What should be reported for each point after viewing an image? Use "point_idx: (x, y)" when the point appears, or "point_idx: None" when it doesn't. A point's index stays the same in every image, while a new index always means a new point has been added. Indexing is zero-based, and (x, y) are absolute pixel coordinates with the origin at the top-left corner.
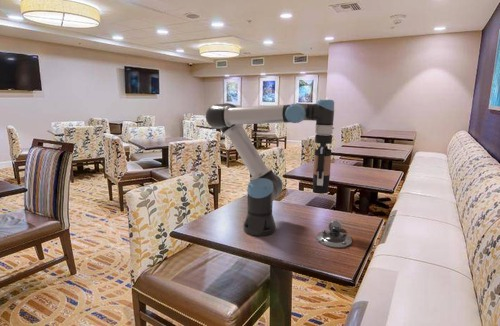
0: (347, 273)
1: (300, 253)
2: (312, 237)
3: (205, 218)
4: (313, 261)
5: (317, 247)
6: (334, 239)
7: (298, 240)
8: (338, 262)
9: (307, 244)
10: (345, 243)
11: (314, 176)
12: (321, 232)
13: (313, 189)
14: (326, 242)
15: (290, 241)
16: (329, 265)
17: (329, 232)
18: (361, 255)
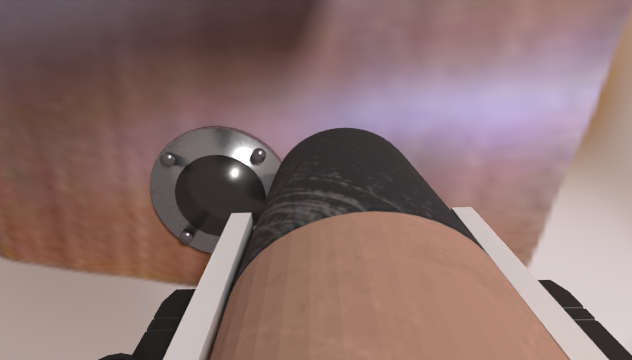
0: (13, 248)
1: (30, 87)
2: (203, 109)
3: None
4: (7, 146)
5: (123, 143)
6: (199, 201)
7: (139, 52)
8: (60, 221)
9: (124, 100)
10: (180, 240)
11: (271, 226)
12: (249, 144)
13: (300, 146)
14: (161, 175)
15: (107, 16)
16: (20, 198)
17: (265, 175)
18: (152, 278)
